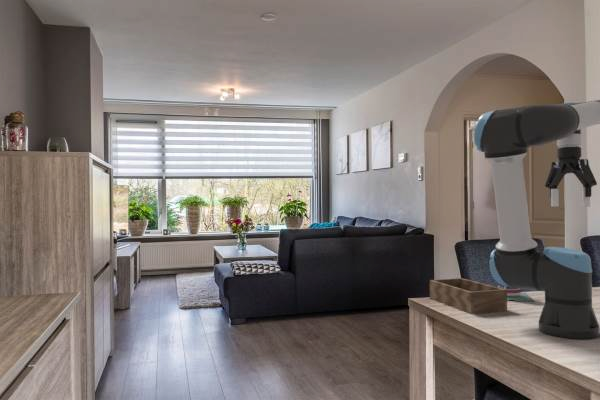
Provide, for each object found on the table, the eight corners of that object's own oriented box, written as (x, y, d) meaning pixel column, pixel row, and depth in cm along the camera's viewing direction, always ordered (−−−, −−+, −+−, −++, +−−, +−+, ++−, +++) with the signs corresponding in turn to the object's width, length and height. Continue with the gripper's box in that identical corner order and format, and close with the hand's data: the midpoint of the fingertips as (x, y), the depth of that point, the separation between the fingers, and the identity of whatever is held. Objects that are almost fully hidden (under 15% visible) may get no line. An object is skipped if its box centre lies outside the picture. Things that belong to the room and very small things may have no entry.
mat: (533, 301, 176) (533, 299, 176) (492, 300, 179) (492, 298, 179) (525, 294, 189) (525, 292, 189) (487, 293, 193) (487, 291, 193)
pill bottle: (523, 295, 185) (523, 257, 185) (516, 298, 179) (515, 259, 179) (502, 292, 190) (501, 256, 190) (494, 295, 184) (494, 258, 184)
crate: (507, 310, 162) (506, 289, 162) (471, 313, 159) (470, 292, 159) (461, 296, 188) (461, 278, 188) (429, 298, 184) (429, 280, 184)
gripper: (608, 143, 161) (609, 206, 161) (550, 150, 185) (551, 206, 185) (590, 142, 159) (591, 206, 159) (534, 150, 183) (535, 206, 183)
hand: (569, 206), depth 172 cm, fingers open, 13 cm apart
